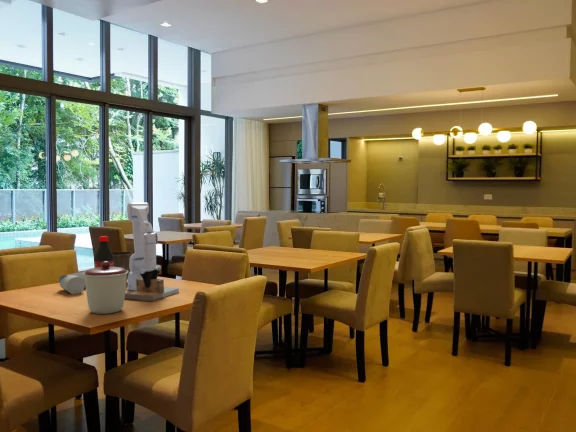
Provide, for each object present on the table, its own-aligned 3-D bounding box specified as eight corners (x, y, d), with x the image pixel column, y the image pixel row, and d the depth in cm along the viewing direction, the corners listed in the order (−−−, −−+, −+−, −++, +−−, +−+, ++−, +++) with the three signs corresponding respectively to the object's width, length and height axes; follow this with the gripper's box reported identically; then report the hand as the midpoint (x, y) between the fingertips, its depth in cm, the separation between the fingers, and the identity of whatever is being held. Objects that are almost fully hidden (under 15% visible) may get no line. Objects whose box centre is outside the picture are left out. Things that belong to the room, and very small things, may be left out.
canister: (135, 312, 216) (134, 262, 215) (89, 319, 206) (88, 265, 205) (121, 304, 231) (120, 257, 230) (78, 310, 220) (77, 260, 219)
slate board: (135, 295, 250) (135, 291, 250) (153, 290, 263) (153, 286, 263) (162, 297, 245) (162, 293, 245) (178, 292, 258) (178, 288, 258)
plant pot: (98, 283, 283) (98, 253, 282) (121, 279, 295) (121, 250, 294) (116, 286, 274) (115, 255, 273) (139, 281, 286) (138, 252, 286)
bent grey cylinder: (51, 286, 266) (62, 293, 250) (56, 266, 267) (66, 271, 251) (86, 290, 277) (98, 296, 261) (90, 270, 278) (103, 275, 262)
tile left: (128, 297, 244) (128, 293, 244) (136, 294, 250) (136, 290, 250) (139, 298, 242) (139, 294, 242) (147, 295, 248) (147, 291, 248)
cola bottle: (96, 305, 229) (94, 237, 227) (93, 301, 237) (92, 235, 235) (116, 303, 233) (115, 236, 231) (113, 299, 240) (111, 234, 239)
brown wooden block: (136, 291, 250) (136, 279, 249) (141, 289, 253) (140, 277, 252) (159, 293, 245) (159, 281, 244) (164, 291, 248) (163, 279, 248)
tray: (123, 298, 243) (123, 293, 243) (134, 295, 250) (134, 290, 250) (152, 301, 237) (152, 296, 237) (162, 298, 245) (162, 292, 245)
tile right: (141, 298, 242) (141, 294, 242) (149, 295, 247) (149, 292, 247) (152, 299, 240) (152, 295, 239) (159, 296, 245) (159, 293, 245)
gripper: (147, 260, 240) (148, 289, 240) (165, 256, 253) (166, 284, 254) (134, 259, 242) (135, 288, 243) (153, 255, 256) (154, 283, 257)
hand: (150, 286), depth 249 cm, fingers closed on brown wooden block, 4 cm apart
